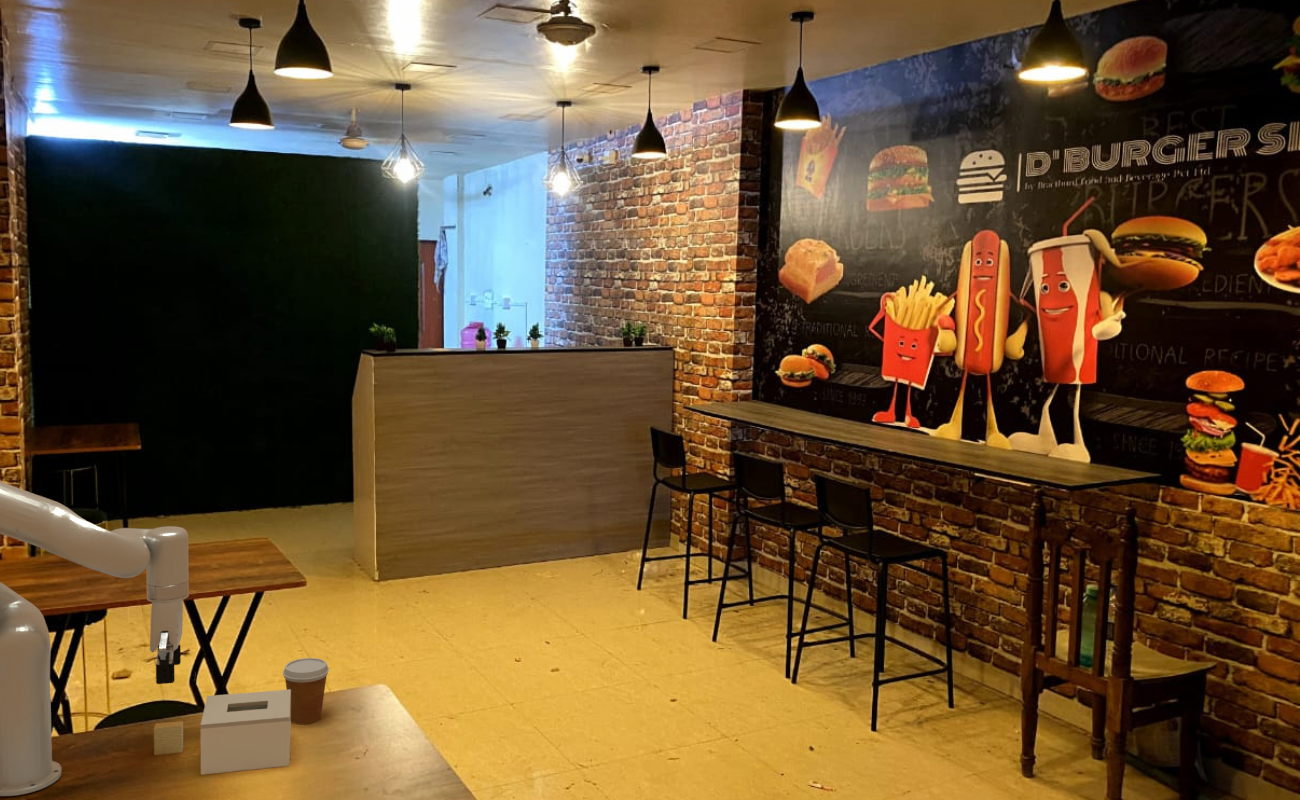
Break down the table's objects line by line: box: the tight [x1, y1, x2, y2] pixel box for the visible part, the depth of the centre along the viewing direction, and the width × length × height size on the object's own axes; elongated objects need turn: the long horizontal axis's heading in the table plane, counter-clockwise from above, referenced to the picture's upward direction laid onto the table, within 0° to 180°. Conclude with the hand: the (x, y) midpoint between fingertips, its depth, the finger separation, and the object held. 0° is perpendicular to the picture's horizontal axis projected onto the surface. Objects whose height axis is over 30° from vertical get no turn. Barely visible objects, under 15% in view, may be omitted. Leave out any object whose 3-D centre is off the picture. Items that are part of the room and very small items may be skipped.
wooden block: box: [153, 720, 184, 756], centre depth 204 cm, size 5×2×6 cm, turn 108°
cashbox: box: [200, 689, 292, 775], centre depth 204 cm, size 16×14×10 cm
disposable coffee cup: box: [282, 657, 330, 725], centre depth 222 cm, size 10×10×12 cm
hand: (168, 673), depth 203 cm, fingers open, 9 cm apart
